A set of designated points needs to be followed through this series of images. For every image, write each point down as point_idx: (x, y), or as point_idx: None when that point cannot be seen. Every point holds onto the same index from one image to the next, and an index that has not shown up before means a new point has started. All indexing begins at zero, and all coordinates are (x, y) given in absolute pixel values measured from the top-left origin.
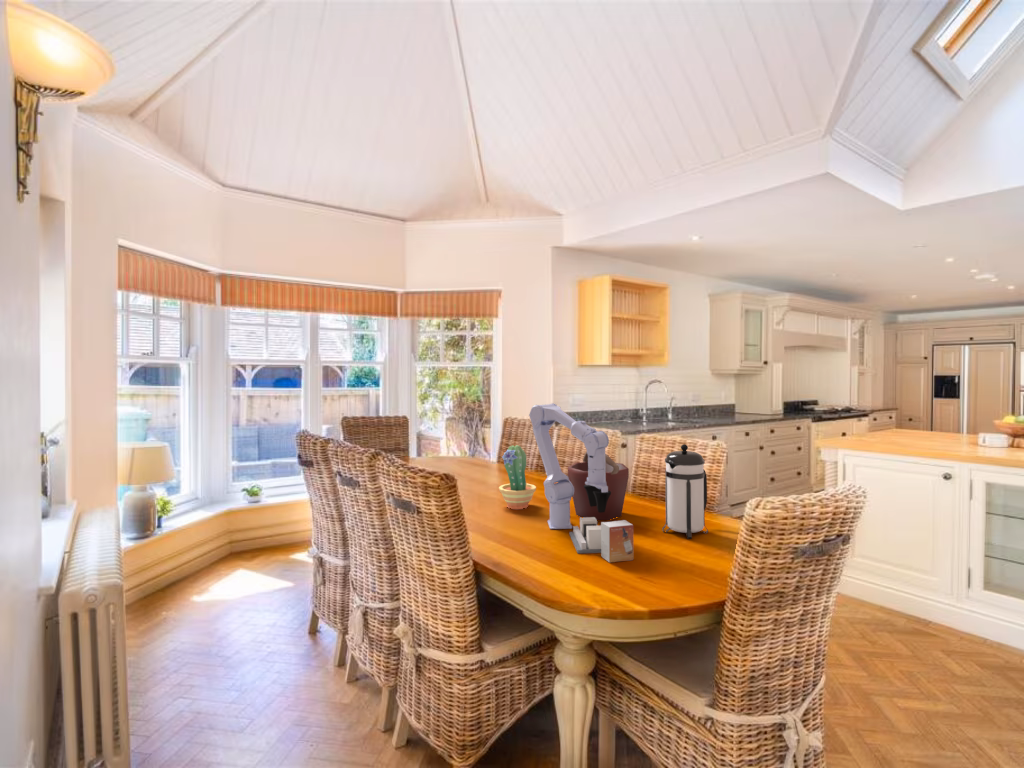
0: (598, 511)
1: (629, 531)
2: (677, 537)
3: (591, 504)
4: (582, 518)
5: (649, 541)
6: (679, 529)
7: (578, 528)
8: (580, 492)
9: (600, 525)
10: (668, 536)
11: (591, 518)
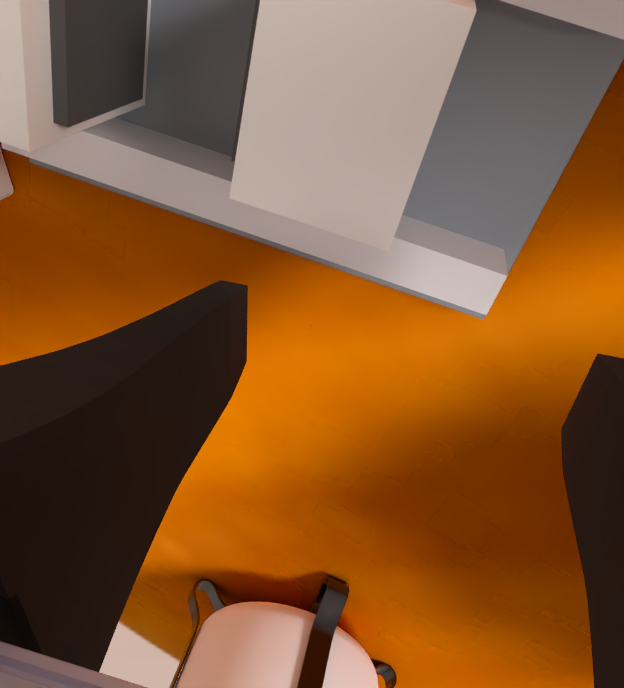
0: (213, 283)
1: None
2: (239, 567)
3: (598, 385)
4: (405, 36)
5: (215, 444)
6: (224, 612)
7: (529, 2)
8: None
9: (488, 308)
10: (265, 552)
11: (347, 177)
